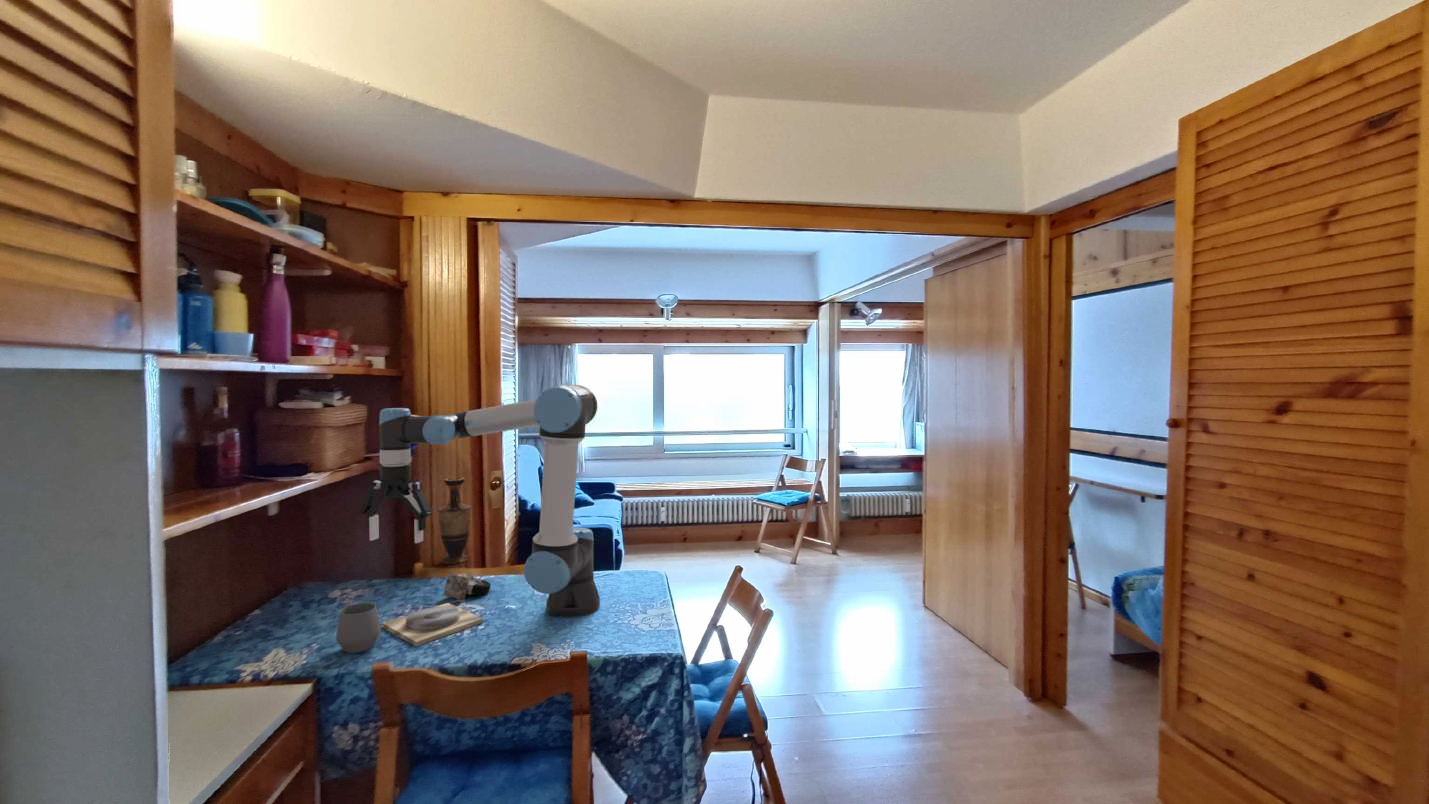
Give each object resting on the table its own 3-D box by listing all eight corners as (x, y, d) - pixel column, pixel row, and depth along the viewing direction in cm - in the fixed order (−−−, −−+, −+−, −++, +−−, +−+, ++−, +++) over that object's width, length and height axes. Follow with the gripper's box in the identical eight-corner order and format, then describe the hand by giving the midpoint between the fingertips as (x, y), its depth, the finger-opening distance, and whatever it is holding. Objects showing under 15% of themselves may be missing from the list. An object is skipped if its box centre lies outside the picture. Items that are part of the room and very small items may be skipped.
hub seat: (482, 622, 161) (482, 613, 161) (416, 646, 147) (415, 636, 147) (447, 606, 172) (447, 597, 172) (382, 627, 158) (382, 617, 158)
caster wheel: (491, 597, 187) (477, 605, 177) (457, 589, 187) (441, 595, 177) (496, 576, 187) (483, 582, 177) (463, 567, 188) (447, 573, 178)
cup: (333, 660, 140) (332, 618, 139) (340, 643, 148) (339, 604, 148) (379, 653, 144) (378, 612, 143) (383, 637, 152) (382, 599, 152)
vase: (442, 557, 219) (440, 476, 218) (473, 555, 222) (472, 475, 220) (436, 566, 208) (434, 481, 207) (469, 564, 211) (467, 480, 210)
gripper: (445, 463, 165) (446, 539, 166) (364, 460, 169) (365, 534, 170) (428, 467, 158) (429, 546, 159) (344, 464, 161) (345, 541, 162)
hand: (396, 540), depth 164 cm, fingers open, 13 cm apart
